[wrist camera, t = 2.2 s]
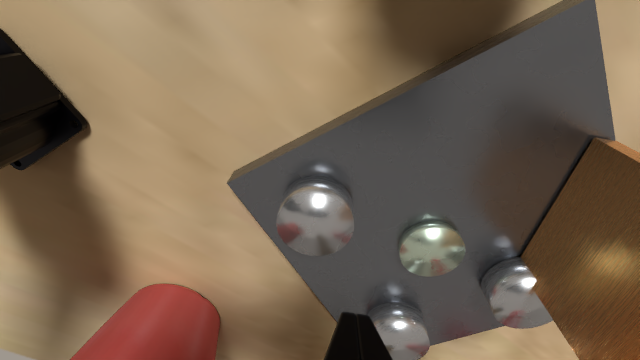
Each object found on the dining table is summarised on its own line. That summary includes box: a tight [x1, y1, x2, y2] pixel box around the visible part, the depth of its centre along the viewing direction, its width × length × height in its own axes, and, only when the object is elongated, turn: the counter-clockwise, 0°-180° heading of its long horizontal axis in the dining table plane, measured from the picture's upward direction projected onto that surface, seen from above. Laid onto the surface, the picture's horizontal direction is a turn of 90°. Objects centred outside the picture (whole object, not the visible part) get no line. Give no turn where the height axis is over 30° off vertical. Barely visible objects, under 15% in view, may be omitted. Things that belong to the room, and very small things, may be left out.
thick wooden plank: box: [481, 137, 640, 360], centre depth 16 cm, size 13×4×9 cm, turn 172°
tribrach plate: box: [227, 0, 615, 360], centre depth 21 cm, size 20×20×4 cm
